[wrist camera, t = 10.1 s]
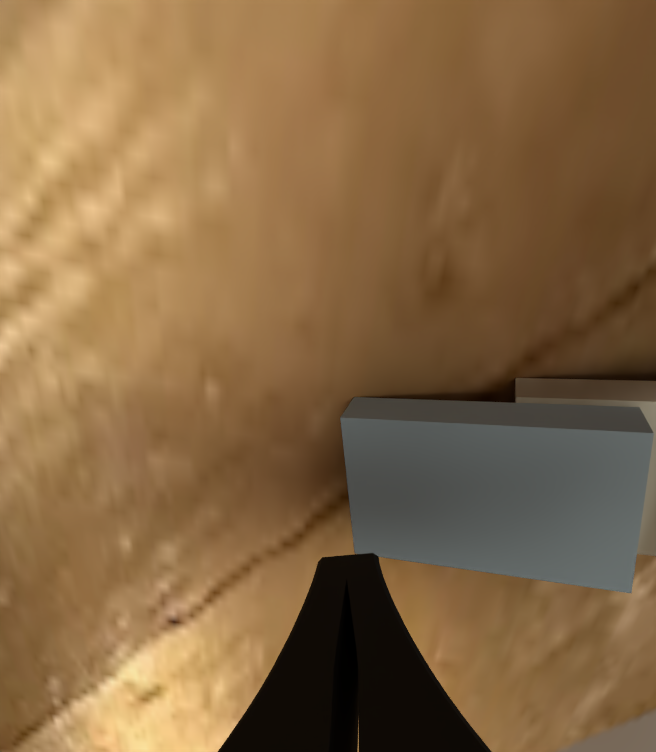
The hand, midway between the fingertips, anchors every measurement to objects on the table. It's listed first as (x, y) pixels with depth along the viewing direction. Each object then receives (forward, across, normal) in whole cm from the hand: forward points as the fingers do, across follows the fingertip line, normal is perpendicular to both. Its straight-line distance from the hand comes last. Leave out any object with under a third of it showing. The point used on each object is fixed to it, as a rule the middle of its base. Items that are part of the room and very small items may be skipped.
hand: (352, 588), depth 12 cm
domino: (+5, 0, 0) cm, 5 cm away
